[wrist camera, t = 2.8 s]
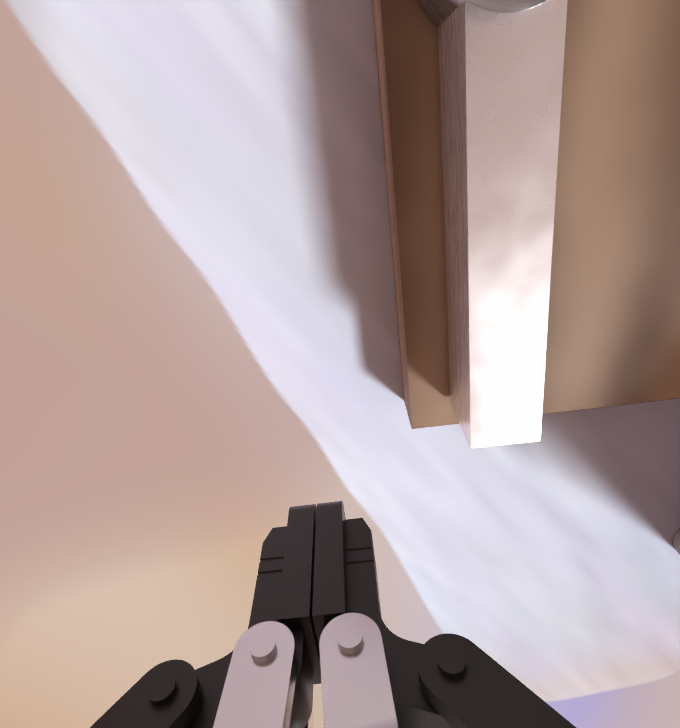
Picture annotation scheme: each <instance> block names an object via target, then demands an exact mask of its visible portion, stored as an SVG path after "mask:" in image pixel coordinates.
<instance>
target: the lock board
mask: <svg viewBox="0 0 680 728" xmlns="http://www.w3.org/2000/svg"><path fill="white" fill-rule="evenodd" d="M373 13H374V26H375V38H376V51H377V63H378V76H379V89H380V101H381V114H382V126H383V139H384V152H385V164H386V177H387V189H388V202H389V215H390V227H391V240H392V252H393V265H394V278H395V290H396V303H397V315H398V328H399V340H400V353H401V366H402V378H403V391H404V402H405V405H406V409H407V413H408V416H409V420H410V424H411V427H412V429H415V428H424V427H433V426H442V425H450V424H459V421H458V419H457V417H456V415H455V412H454V410H453V408H452V406H451V403H450V379H449V349H448V318H447V288H446V258H445V227H444V197H443V166H442V136H441V105H440V75H439V44H438V27H436V26H435V25H434V24H433V23H432V22H431V21H430V20H429V19H428V18H427V17H426V16H425V14H424V13H423V11H422V10H421V8H420V7H419V5H418V3H417V1H416V0H373ZM678 398H680V0H567V17H566V33H565V49H564V66H563V82H562V98H561V115H560V131H559V147H558V164H557V180H556V196H555V213H554V229H553V245H552V262H551V278H550V294H549V311H548V327H547V343H546V360H545V376H544V392H543V409H542V414H547V413H555V412H564V411H573V410H581V409H590V408H599V407H608V406H616V405H625V404H634V403H643V402H651V401H660V400H669V399H678Z"/></svg>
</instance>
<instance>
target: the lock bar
mask: <svg viewBox="0 0 680 728" xmlns="http://www.w3.org/2000/svg"><path fill="white" fill-rule="evenodd" d="M416 1H417V3H418V5H419V7H420V8H421V10H422V11H423V13H424V14H425V16H426V17H427V18H428V19H429V20H430V21H431V22H432V23H433V24H434V25H435V26H436V27H438V44H439V75H440V105H441V136H442V166H443V197H444V227H445V258H446V288H447V318H448V349H449V379H450V403H451V406H452V408H453V410H454V412H455V415H456V417H457V419H458V421H459V424H460V426H461V428H462V430H463V433H464V435H465V437H466V439H467V442H468V444H469V446H470V448H471V449H473V448H482V447H491V446H500V445H509V444H517V443H526V442H535V441H541V425H542V409H543V392H544V376H545V360H546V343H547V327H548V311H549V294H550V278H551V262H552V245H553V229H554V213H555V196H556V180H557V164H558V147H559V131H560V115H561V98H562V82H563V66H564V49H565V33H566V17H567V0H416Z"/></svg>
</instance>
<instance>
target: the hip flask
mask: <svg viewBox="0 0 680 728" xmlns="http://www.w3.org/2000/svg"><path fill="white" fill-rule="evenodd" d="M673 546H674V548H675V549H676V551H677V552H678V553H679V554H680V530H679V531H678V532H677V533H676V535H675V537H674V539H673Z"/></svg>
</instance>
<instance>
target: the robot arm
mask: <svg viewBox="0 0 680 728" xmlns="http://www.w3.org/2000/svg"><path fill="white" fill-rule="evenodd" d="M260 560H261V561H260V564H259V570H258V576H257V581H256V588H255V593H254V599H253V605H252V611H251V616H250V623H249V627H248V630H247V631H245V632H244V633H243V634H242V636H241V637H240V638H239V640H238V641H237V643H236V645H235V648H234V650H233V651H232V652H231V653H229V654H228V655H227V656H225V657H224V658H221V659H219V660H217V661H215V662H213V663H210V664H208V665H206V666H204V667H201V668H199V669H196V670H194V668H193V667H192V666H191V664H189V663H187V662H186V661H183V660H170V661H166V662H163V663H161V664H159V665H157V666H155V667H154V668H152V669H151V670H150V671H148V672H147V673H146V674H145V675H144V676H143V677H142V678H141V679H140V680H139V681H138V682H137V683H136V684H135V685H134V686H133V687H131V689H130V690H128V691H127V692H126V693H125V694H124V695H123V696H122V697H121V698H120V699H119V700H118V701H117V702H116V703H115V704H114V705H113V706H112V707H111V708H110V709H109V710H108V711H107V712H106V713H105V714H104V715H103V716H102V717H101V718H100V719H98V720H97V721H96V722H95V723H94V724H93V725H92V726H91V727H90V728H312V727H313V713H312V702H313V701H312V700H313V684H319V683H321V684H322V701H323V720H324V728H576V727H575V726H573V725H572V724H571V723H570V722H569V721H567V720H566V719H565V718H564V717H562V716H561V715H560V714H559V713H558V712H556V711H555V710H554V709H553V708H552V707H550V706H549V705H548V704H547V703H546V702H544V701H543V700H542V699H541V698H539V697H538V696H537V695H536V694H535V693H533V692H532V691H531V690H530V689H528V688H527V687H526V686H525V685H524V684H522V683H521V682H520V681H519V680H518V679H516V678H515V677H514V676H513V675H511V674H510V673H509V672H508V671H507V670H505V669H504V668H503V667H502V666H501V665H499V664H498V663H497V662H496V661H494V660H493V659H492V658H491V657H490V656H488V655H487V654H486V653H485V652H484V651H482V650H481V649H480V648H479V647H477V646H476V645H475V644H474V643H473V642H471V641H470V640H468V639H466V638H464V637H462V636H459V635H456V634H441V635H438V636H435V637H433V638H431V639H429V640H428V641H427V642H426V643H425V644H420V643H416V642H412V641H408V640H405V639H402V638H400V637H398V636H396V635H395V634H393V633H392V632H391V631H390V630H389V629H388V628H387V627H386V626H385V624H384V623H383V621H382V618H381V610H380V600H379V590H378V581H377V571H376V565H375V564H376V563H375V556H374V548H373V540H372V534H371V530H370V528H369V527H368V525H367V524H366V523H365V521H364V520H363V518H358V519H348V520H346V519H345V512H344V506H343V502H342V501H338V502H330V503H321V504H317V507H316V505H315V504H313V505H304V506H295V507H290V509H289V516H288V524H287V526H286V527H277V528H273V529H272V530H271V532H270V533H269V535H268V536H267V538H266V539H265V541H264V542H263V546H262V552H261V558H260Z"/></svg>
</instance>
